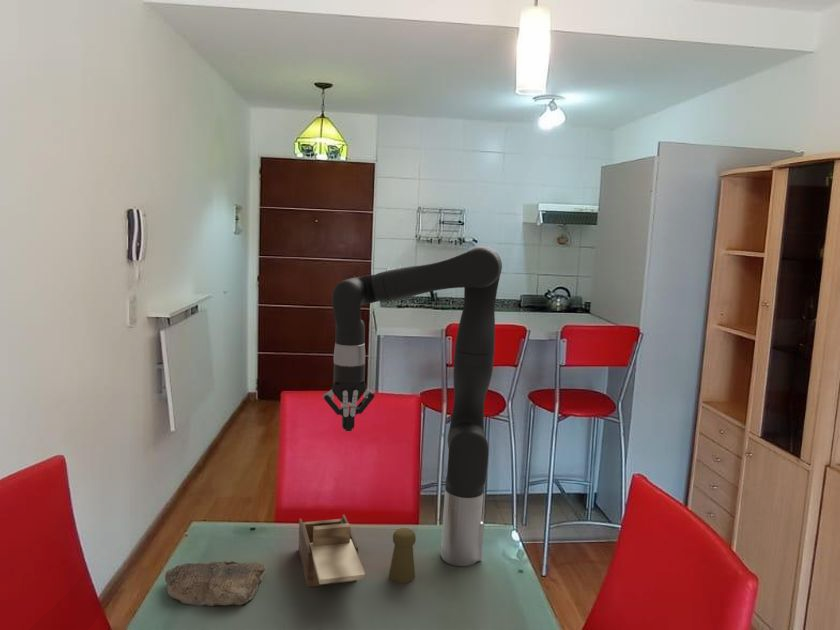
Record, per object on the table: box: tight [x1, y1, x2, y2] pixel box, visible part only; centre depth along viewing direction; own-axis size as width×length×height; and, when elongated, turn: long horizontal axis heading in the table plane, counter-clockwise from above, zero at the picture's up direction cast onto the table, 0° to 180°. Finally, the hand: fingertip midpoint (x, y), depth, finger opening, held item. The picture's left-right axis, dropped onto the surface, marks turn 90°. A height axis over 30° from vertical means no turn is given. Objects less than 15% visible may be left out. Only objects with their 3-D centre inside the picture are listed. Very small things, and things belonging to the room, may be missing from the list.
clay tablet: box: [164, 560, 266, 607], centre depth 138 cm, size 14×5×20 cm
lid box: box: [298, 514, 359, 588], centre depth 149 cm, size 11×16×8 cm
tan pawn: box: [388, 527, 417, 584], centre depth 146 cm, size 6×6×11 cm
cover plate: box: [310, 522, 366, 584], centre depth 137 cm, size 9×15×5 cm, turn 18°
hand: (348, 430), depth 158 cm, fingers closed
